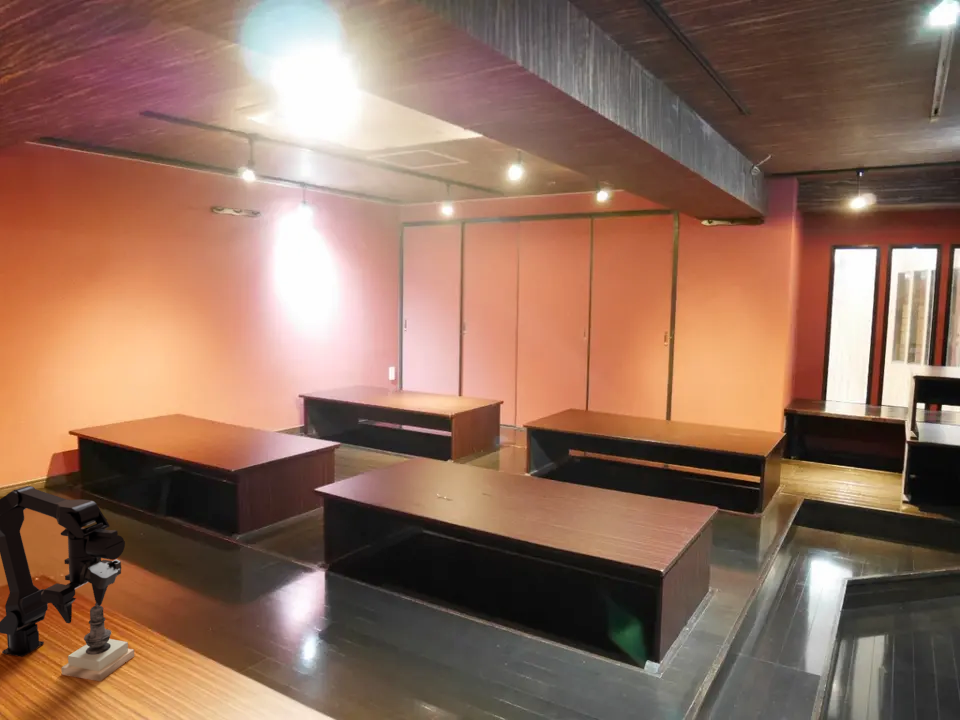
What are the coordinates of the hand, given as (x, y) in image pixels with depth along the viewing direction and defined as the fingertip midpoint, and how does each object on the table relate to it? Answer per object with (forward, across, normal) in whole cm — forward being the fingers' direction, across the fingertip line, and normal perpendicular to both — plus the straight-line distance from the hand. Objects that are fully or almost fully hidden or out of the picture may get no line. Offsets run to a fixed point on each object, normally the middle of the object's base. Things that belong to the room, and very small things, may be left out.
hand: (84, 613), depth 158 cm
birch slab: (+14, 0, -4) cm, 14 cm away
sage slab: (+11, 0, -4) cm, 12 cm away
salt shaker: (+9, 0, -4) cm, 10 cm away
